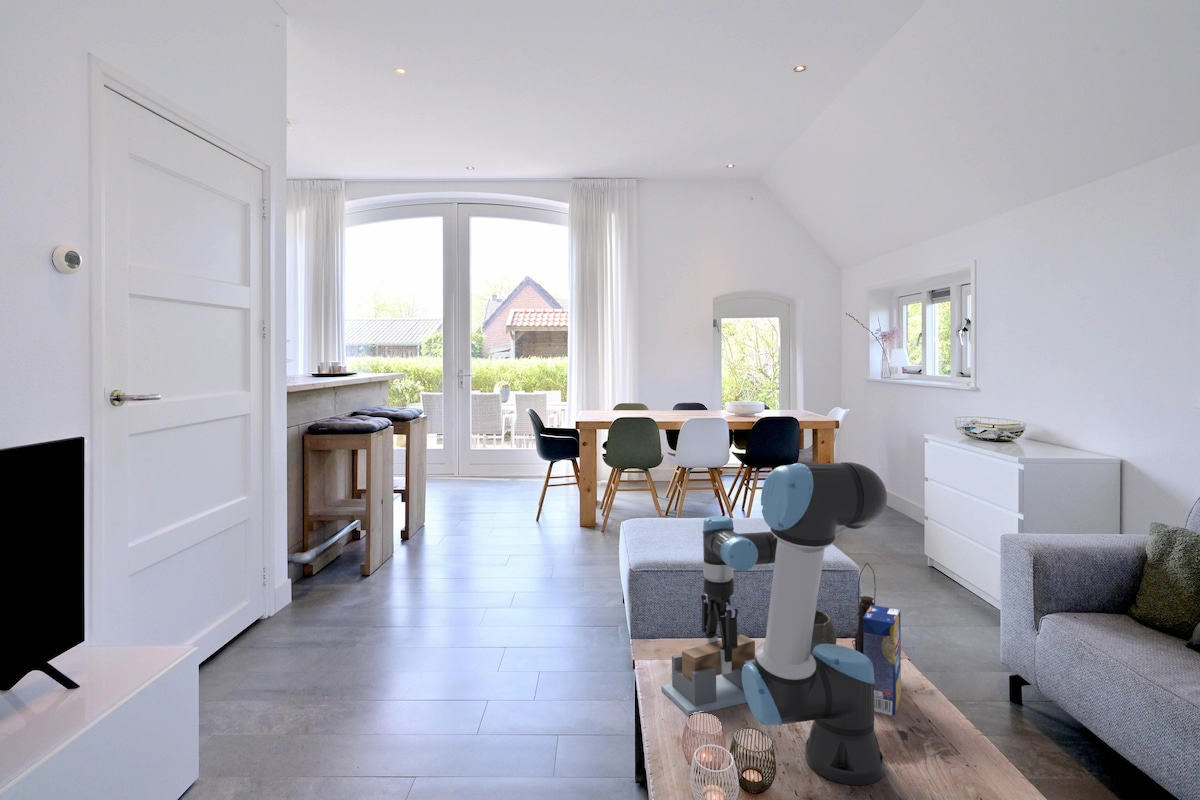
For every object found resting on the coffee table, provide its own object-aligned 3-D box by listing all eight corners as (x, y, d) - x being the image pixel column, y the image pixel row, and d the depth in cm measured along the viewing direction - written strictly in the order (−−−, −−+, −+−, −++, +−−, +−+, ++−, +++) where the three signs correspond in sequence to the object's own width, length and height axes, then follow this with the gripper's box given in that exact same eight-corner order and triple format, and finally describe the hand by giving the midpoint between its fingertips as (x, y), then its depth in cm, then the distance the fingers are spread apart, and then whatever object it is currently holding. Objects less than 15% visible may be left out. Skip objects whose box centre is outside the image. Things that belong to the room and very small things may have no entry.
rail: (741, 656, 168) (741, 634, 168) (755, 663, 164) (754, 640, 164) (682, 674, 158) (682, 650, 158) (695, 682, 154) (694, 658, 154)
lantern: (886, 680, 167) (886, 567, 166) (854, 678, 168) (853, 566, 168) (879, 667, 174) (878, 559, 174) (848, 665, 176) (848, 558, 176)
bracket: (778, 695, 159) (778, 659, 159) (688, 715, 150) (688, 678, 150) (746, 672, 172) (745, 639, 172) (661, 690, 163) (660, 655, 162)
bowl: (846, 672, 172) (845, 626, 171) (779, 673, 172) (779, 626, 172) (823, 646, 189) (823, 604, 189) (763, 646, 190) (763, 604, 189)
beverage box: (900, 696, 158) (900, 609, 157) (894, 716, 148) (894, 623, 148) (871, 690, 161) (871, 604, 161) (863, 708, 152) (863, 618, 152)
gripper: (752, 586, 153) (753, 680, 154) (711, 566, 171) (712, 651, 171) (726, 590, 151) (727, 686, 151) (687, 569, 168) (688, 656, 168)
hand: (719, 667), depth 161 cm, fingers open, 6 cm apart
